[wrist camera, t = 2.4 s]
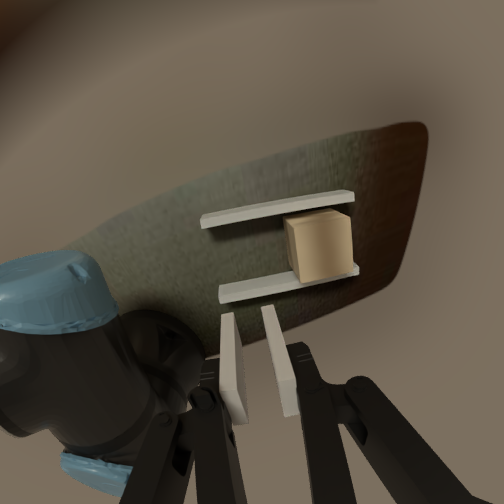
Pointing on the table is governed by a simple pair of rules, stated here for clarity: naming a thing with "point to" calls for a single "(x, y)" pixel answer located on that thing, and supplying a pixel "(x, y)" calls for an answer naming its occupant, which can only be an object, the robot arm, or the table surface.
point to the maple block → (319, 244)
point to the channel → (281, 280)
